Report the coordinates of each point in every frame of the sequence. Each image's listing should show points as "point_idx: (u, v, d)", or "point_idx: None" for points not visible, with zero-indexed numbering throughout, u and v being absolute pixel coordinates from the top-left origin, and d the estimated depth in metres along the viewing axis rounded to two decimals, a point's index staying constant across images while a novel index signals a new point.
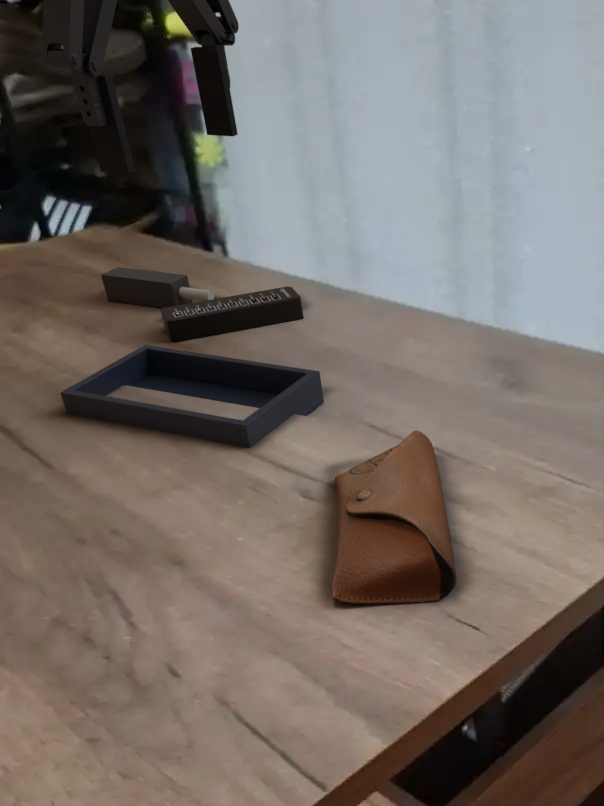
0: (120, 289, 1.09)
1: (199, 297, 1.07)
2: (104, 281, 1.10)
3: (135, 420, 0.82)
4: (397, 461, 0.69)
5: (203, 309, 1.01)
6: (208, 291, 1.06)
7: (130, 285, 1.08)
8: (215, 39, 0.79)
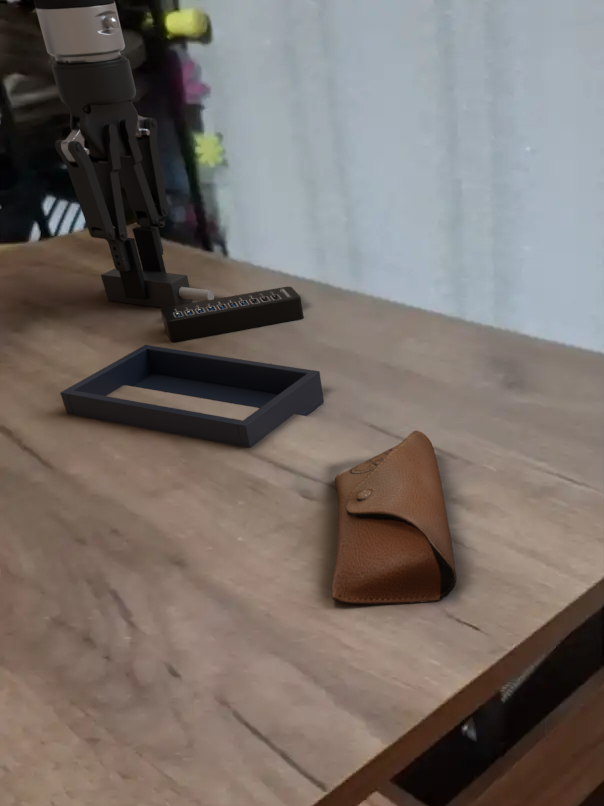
0: (120, 289, 1.09)
1: (199, 297, 1.07)
2: (104, 281, 1.10)
3: (135, 420, 0.82)
4: (397, 461, 0.69)
5: (203, 309, 1.01)
6: (208, 291, 1.06)
7: None
8: (149, 220, 1.07)
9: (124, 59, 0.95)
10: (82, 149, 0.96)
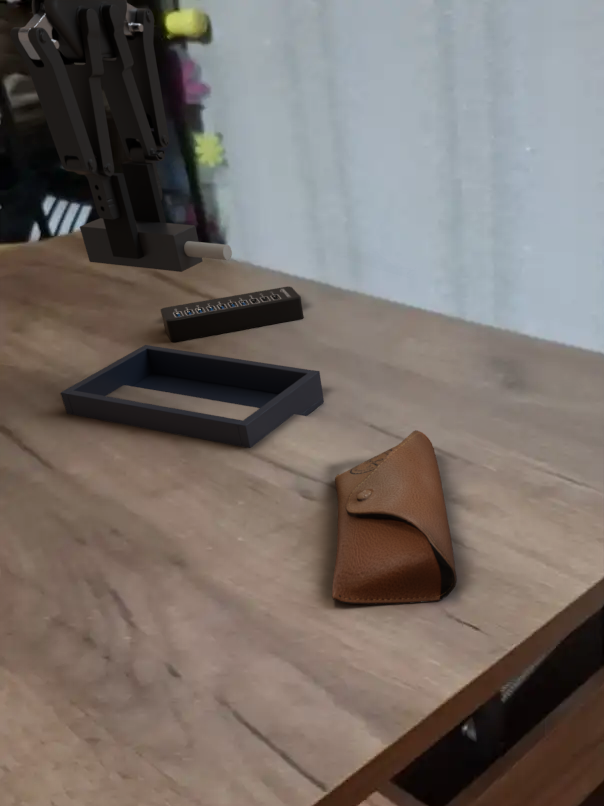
0: (105, 246, 0.82)
1: (211, 254, 0.79)
2: (84, 235, 0.82)
3: (135, 420, 0.82)
4: (397, 461, 0.69)
5: (203, 309, 1.01)
6: (224, 245, 0.79)
7: None
8: (144, 151, 0.79)
9: None
10: (49, 40, 0.68)
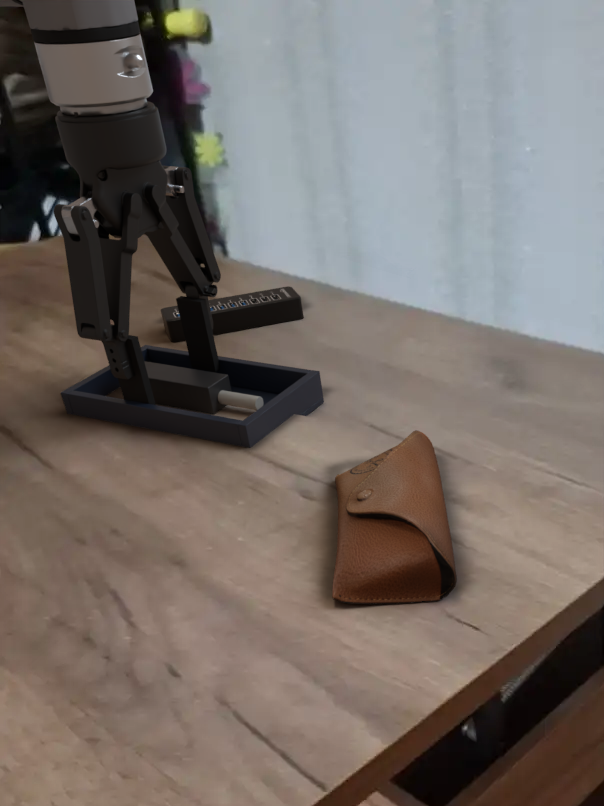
0: None
1: (244, 405, 0.83)
2: None
3: (135, 420, 0.82)
4: (397, 461, 0.69)
5: None
6: (256, 398, 0.82)
7: (155, 387, 0.85)
8: (198, 290, 0.85)
9: (152, 108, 0.72)
10: (90, 219, 0.71)
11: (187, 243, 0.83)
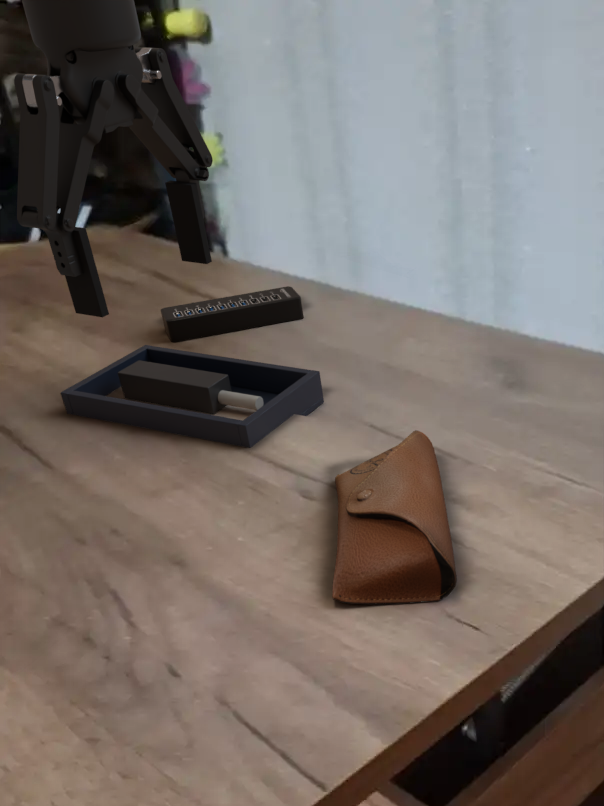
0: (141, 391, 0.86)
1: (244, 405, 0.83)
2: (121, 380, 0.86)
3: (135, 420, 0.82)
4: (397, 461, 0.69)
5: (203, 309, 1.01)
6: (256, 398, 0.82)
7: (155, 387, 0.85)
8: (189, 175, 0.81)
9: None
10: (53, 92, 0.66)
11: (173, 129, 0.79)
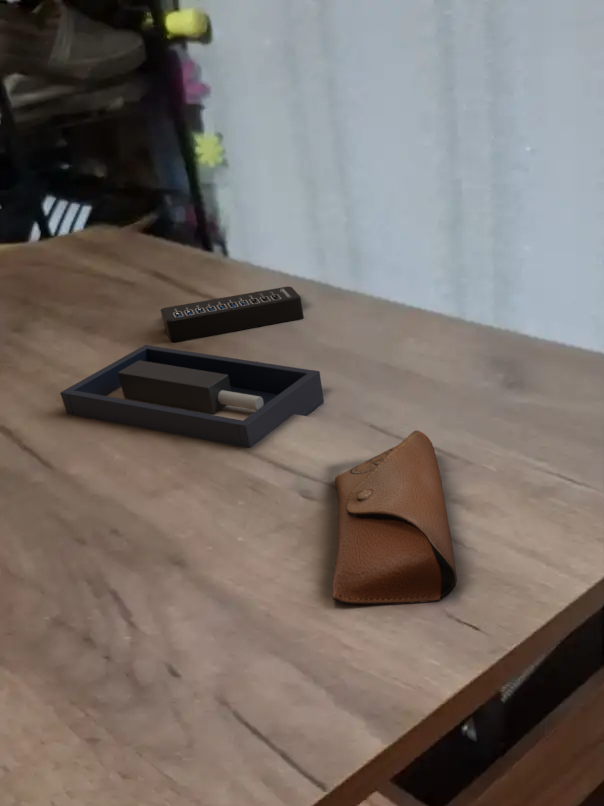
0: (141, 391, 0.86)
1: (244, 405, 0.83)
2: (121, 380, 0.86)
3: (135, 420, 0.82)
4: (397, 461, 0.69)
5: (203, 309, 1.01)
6: (256, 398, 0.82)
7: (155, 387, 0.85)
8: None
9: None
10: None
11: None
